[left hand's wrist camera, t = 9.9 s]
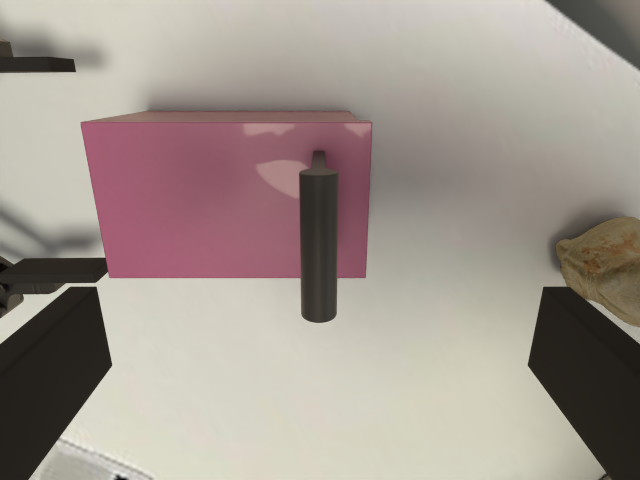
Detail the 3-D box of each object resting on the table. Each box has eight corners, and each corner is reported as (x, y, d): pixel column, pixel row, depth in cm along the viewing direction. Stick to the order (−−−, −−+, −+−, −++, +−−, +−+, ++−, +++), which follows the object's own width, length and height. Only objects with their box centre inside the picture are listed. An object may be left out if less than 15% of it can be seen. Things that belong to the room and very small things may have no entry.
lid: (370, 120, 24) (395, 139, 16) (364, 272, 28) (382, 349, 20) (88, 120, 24) (-26, 139, 16) (115, 272, 28) (32, 350, 20)
